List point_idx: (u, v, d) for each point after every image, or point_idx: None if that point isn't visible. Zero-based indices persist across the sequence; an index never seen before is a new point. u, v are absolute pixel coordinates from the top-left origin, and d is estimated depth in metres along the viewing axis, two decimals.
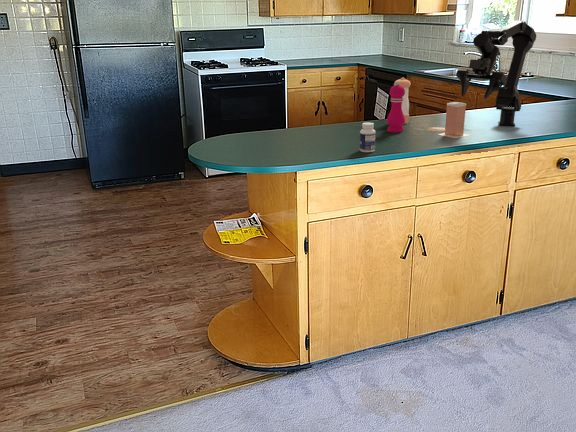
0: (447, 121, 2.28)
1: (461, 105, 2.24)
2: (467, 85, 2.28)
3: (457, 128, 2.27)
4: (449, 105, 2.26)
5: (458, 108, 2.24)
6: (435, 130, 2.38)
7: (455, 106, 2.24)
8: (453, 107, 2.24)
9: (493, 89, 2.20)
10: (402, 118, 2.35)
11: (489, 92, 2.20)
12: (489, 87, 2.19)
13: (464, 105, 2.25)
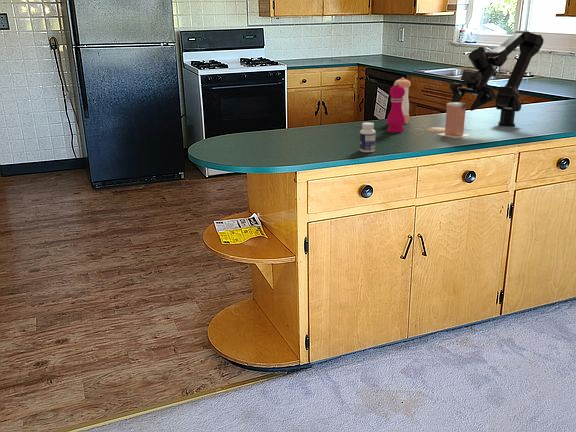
0: (447, 121, 2.28)
1: (461, 105, 2.24)
2: (458, 98, 2.34)
3: (457, 128, 2.27)
4: (449, 105, 2.26)
5: (458, 108, 2.24)
6: (435, 130, 2.38)
7: (455, 106, 2.24)
8: (453, 107, 2.24)
9: (481, 103, 2.25)
10: (402, 118, 2.35)
11: (476, 105, 2.25)
12: (476, 100, 2.24)
13: (464, 105, 2.25)
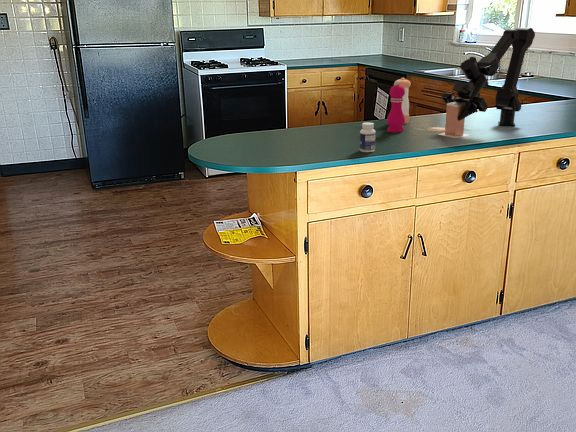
0: (447, 121, 2.28)
1: (461, 105, 2.24)
2: None
3: (457, 128, 2.27)
4: (449, 105, 2.26)
5: (458, 108, 2.24)
6: (435, 130, 2.38)
7: (455, 106, 2.24)
8: (453, 107, 2.24)
9: (468, 113, 2.25)
10: (402, 118, 2.35)
11: (464, 114, 2.25)
12: (464, 109, 2.24)
13: (464, 105, 2.25)
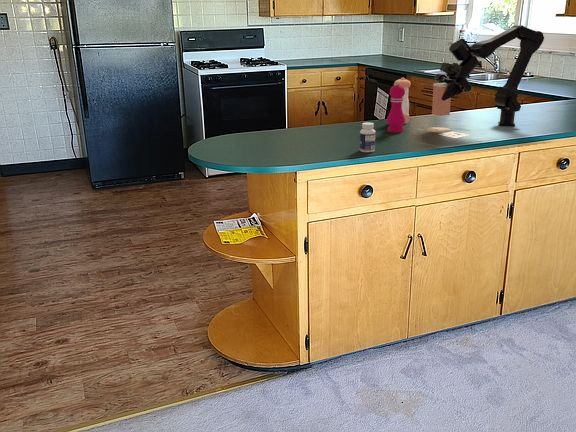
0: (433, 101, 2.35)
1: (445, 85, 2.30)
2: None
3: (441, 108, 2.33)
4: (435, 85, 2.33)
5: (442, 88, 2.30)
6: (435, 130, 2.38)
7: (439, 86, 2.30)
8: (438, 87, 2.31)
9: (453, 93, 2.31)
10: (402, 118, 2.35)
11: (448, 95, 2.31)
12: (448, 90, 2.30)
13: (449, 85, 2.31)
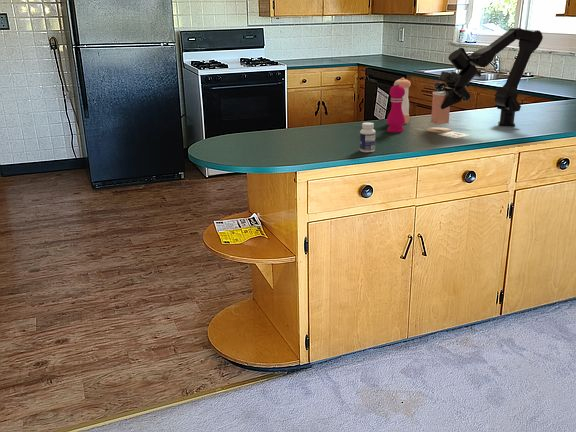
0: (433, 109, 2.37)
1: (444, 94, 2.32)
2: None
3: (441, 116, 2.34)
4: (434, 94, 2.34)
5: (441, 97, 2.32)
6: (435, 130, 2.38)
7: (438, 95, 2.32)
8: (437, 96, 2.33)
9: (452, 102, 2.32)
10: (402, 118, 2.35)
11: (447, 103, 2.32)
12: (447, 98, 2.32)
13: (448, 94, 2.32)
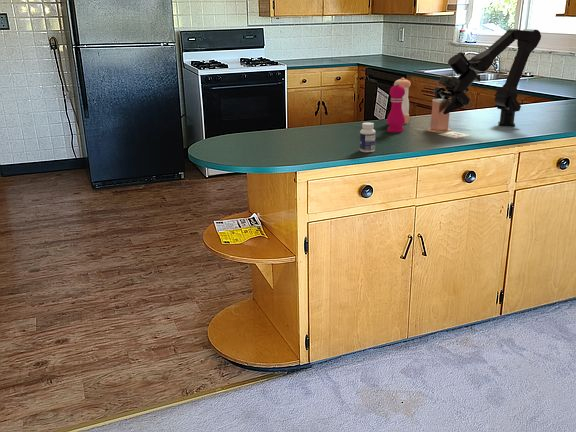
0: (432, 116, 2.38)
1: (444, 101, 2.33)
2: None
3: (440, 123, 2.35)
4: (434, 101, 2.35)
5: (440, 104, 2.33)
6: None
7: (438, 102, 2.33)
8: (436, 103, 2.34)
9: (455, 107, 2.31)
10: (402, 118, 2.35)
11: (449, 108, 2.31)
12: (450, 104, 2.30)
13: (448, 101, 2.33)
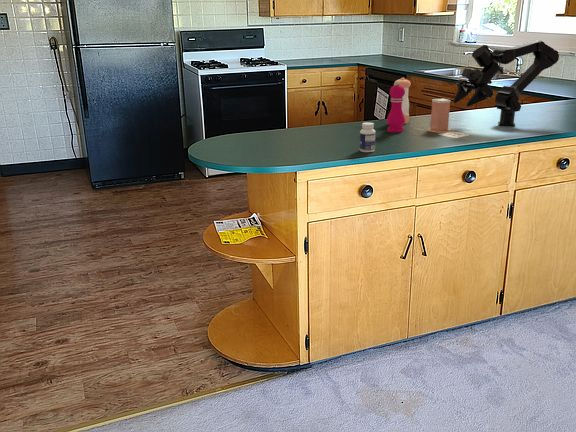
0: (432, 116, 2.38)
1: (444, 101, 2.33)
2: (463, 94, 2.42)
3: (440, 124, 2.35)
4: (433, 101, 2.35)
5: (440, 104, 2.32)
6: None
7: (437, 102, 2.33)
8: (436, 103, 2.34)
9: (478, 99, 2.33)
10: (402, 118, 2.35)
11: (472, 101, 2.32)
12: (473, 96, 2.32)
13: (448, 102, 2.33)
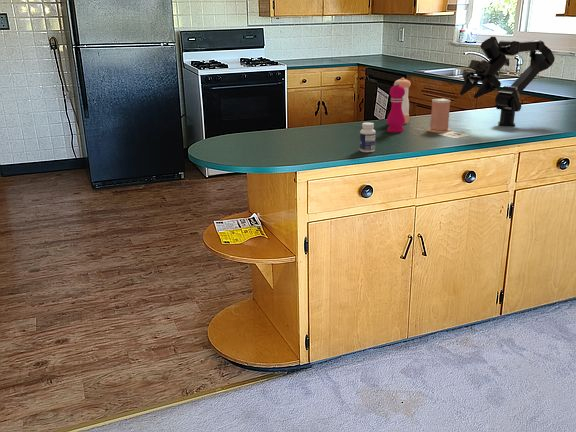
0: (432, 116, 2.38)
1: (444, 101, 2.33)
2: (470, 86, 2.40)
3: (440, 124, 2.35)
4: (433, 101, 2.35)
5: (440, 104, 2.32)
6: None
7: (437, 102, 2.33)
8: (436, 103, 2.34)
9: (485, 91, 2.31)
10: (402, 118, 2.35)
11: (480, 92, 2.31)
12: (480, 88, 2.30)
13: (448, 102, 2.33)
